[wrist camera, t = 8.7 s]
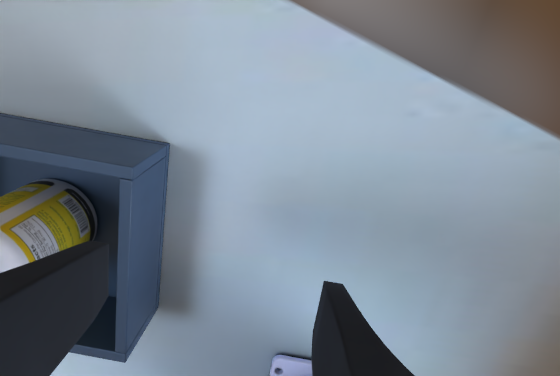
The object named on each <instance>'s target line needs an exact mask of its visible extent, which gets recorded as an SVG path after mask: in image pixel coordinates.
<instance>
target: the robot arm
mask: <svg viewBox="0 0 560 376" xmlns="http://www.w3.org/2000/svg"><path fill="white" fill-rule="evenodd" d="M108 296H109V243H103V242H97V241H92V240H91V241H87V242H84V243H81V244H78V245H75V246H72V247H70V248H67V249H64V250H62V251H59V252H57V253H54V254H51V255H49V256H46V257H44V258H41V259H38V260H36V261H33V262H30V263H27V264H25V265H22V266H19V267H16V268H13V269H10V270H7V271H4V272H1V273H0V376H50V375H51V373H52V372H53V371H54V370H55V368H56V367H57V366H58V365H59V363H60V362H61V361H62V360H63V359H64V357H65V356H66V355H67V354H68V352H69V351H70V350H71V349H72V347H73V346H74V345H75V344H76V343H77V341H78V340H79V339H80V338H81V336H82V335H83V334H84V333H85V331H86V330H87V329H88V327H89V326H90V325H91V324H92V322H93V321H94V319H95V318H96V316H97V315H98V313H99V311H100V310H101V308H102V306H103V305H104V303H105V301H106V299H107V298H108ZM276 368H280V369H281V370H278V369H276ZM269 376H414V375H413V374H412V373H411V372H410V371H409V370H408V369H407V368H406V367H405V366H404V365H403V364H402V363H401V362H400V361H399V360H398V359H397V358H396V357H395V356H394V355H393V353H392V352H391V351H390V350H389V349H388V348H387V347H386V346H385V344H384V343H383V342H382V341H381V339H380V338H379V337H378V336H377V334H376V333H375V332H374V331H373V329H372V328H371V327H370V325H369V324H368V322H367V321H366V319H365V318H364V317H363V315H362V314H361V312H360V311H359V309H358V308H357V306H356V304H355V303H354V301H353V300H352V298H351V297H350V295H349V293H348V292H347V290H346V288H345V287H344V285H343V284H339V283H333V282H328V281H324V284H323V288H322V293H321V297H320V302H319V306H318V311H317V315H316V320H315V324H314V329H313V338H312V359H311V360H306V359H301V358H295V357H290V356H285V355H276V356H275V357H274V358H273V360H272V365H271V370H270V375H269Z"/></svg>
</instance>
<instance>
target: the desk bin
mask: <svg viewBox="0 0 560 376" xmlns="http://www.w3.org/2000/svg"><path fill="white" fill-rule="evenodd" d="M169 147H170V144H169V143H164V142H159V141H153V140H147V139H142V138H136V137H131V136H125V135H119V134H114V133H108V132H103V131H97V130H91V129H86V128H80V127H74V126H69V125H63V124H58V123H52V122H46V121H41V120H35V119H30V118H24V117H18V116H13V115H7V114H2V113H0V197H2V196H4V195H6V194H8V193H10V192H12V191H14V190H16V189H18V188H20V187H22V186H24V185H26V184H29V183H31V182H33V181H36V180H40V179H55V180H60V181H63V182H66V183H68V184H70V185H73V186H74V187H76V188H77V189H79V190H80V191H81V192H82V193H83V194H84V195H85V196H86V197H87V198H88V199H89V201H90V202H91V204H92V205H93V207H94V209H95V212H96V216H97V232H96V236H95V238H94V240H93V241H97V242H103V243H109V296H108V298H107V299H106V301H105V303H104V305H103V306H102V308H101V310H100V311H99V313H98V315H97V316H96V318H95V319H94V321H93V322H92V324H91V325H90V326H89V327H88V329H87V330H86V331H85V333H84V334H83V335H82V336H81V338H80V339H79V340H78V341H77V343H76V344H75V345H74V346H73V347H72V349H71V350H70V351H69V352H71V353H76V354H82V355H87V356H92V357H98V358H103V359H108V360H114V361H119V362H124V363H125V362H126V361H127V359H128V357H129V356H130V354H131V352H132V351H133V349H134V347H135V346H136V344H137V342H138V341H139V339H140V337H141V336H142V334H143V332H144V331H145V329H146V327H147V325H148V324H149V322H150V320H151V319H152V317H153V315H154V314H155V312H156V310H157V309H158V304H159V290H160V276H161V261H162V247H163V233H164V219H165V204H166V190H167V176H168V162H169Z"/></svg>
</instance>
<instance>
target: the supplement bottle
mask: <svg viewBox="0 0 560 376" xmlns="http://www.w3.org/2000/svg"><path fill="white" fill-rule="evenodd" d="M96 232H97V216H96V212H95V209H94V207H93V205H92V204H91V202H90V201H89V199H88V198H87V197H86V196H85V195H84V194H83V193H82V192H81V191H80V190H79V189H77V188H76V187H74V186H73V185H70V184H68V183H66V182H63V181H60V180H55V179H40V180H36V181H33V182H31V183H29V184H26V185H24V186H22V187H20V188H18V189H16V190H14V191H12V192H10V193H8V194H6V195H4V196H2V197H0V273H1V272H4V271H7V270H10V269H13V268H16V267H19V266H22V265H25V264H27V263H30V262H33V261H36V260H38V259H41V258H44V257H46V256H49V255H51V254H54V253H57V252H59V251H62V250H64V249H67V248H70V247H72V246H75V245H78V244H81V243H84V242H87V241H91V240H92V241H93V240H94V238H95V236H96Z"/></svg>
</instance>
